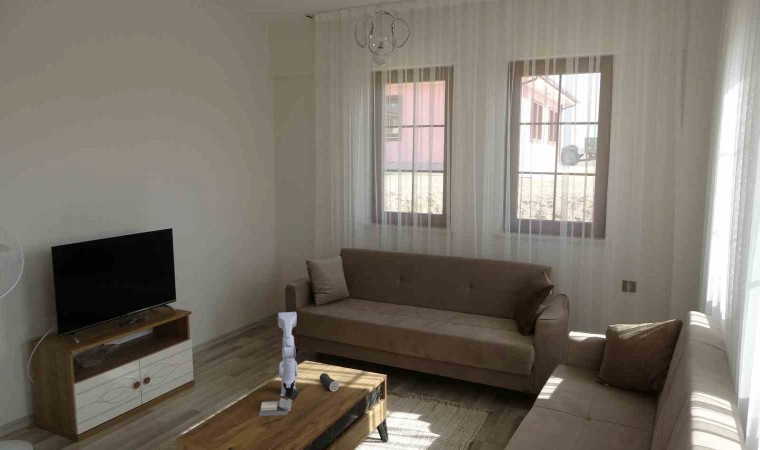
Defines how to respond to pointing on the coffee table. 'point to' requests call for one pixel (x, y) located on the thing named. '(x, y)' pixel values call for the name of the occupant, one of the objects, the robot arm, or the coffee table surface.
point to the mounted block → (287, 403)
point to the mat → (273, 411)
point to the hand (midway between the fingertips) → (289, 395)
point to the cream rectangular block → (269, 406)
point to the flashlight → (329, 382)
